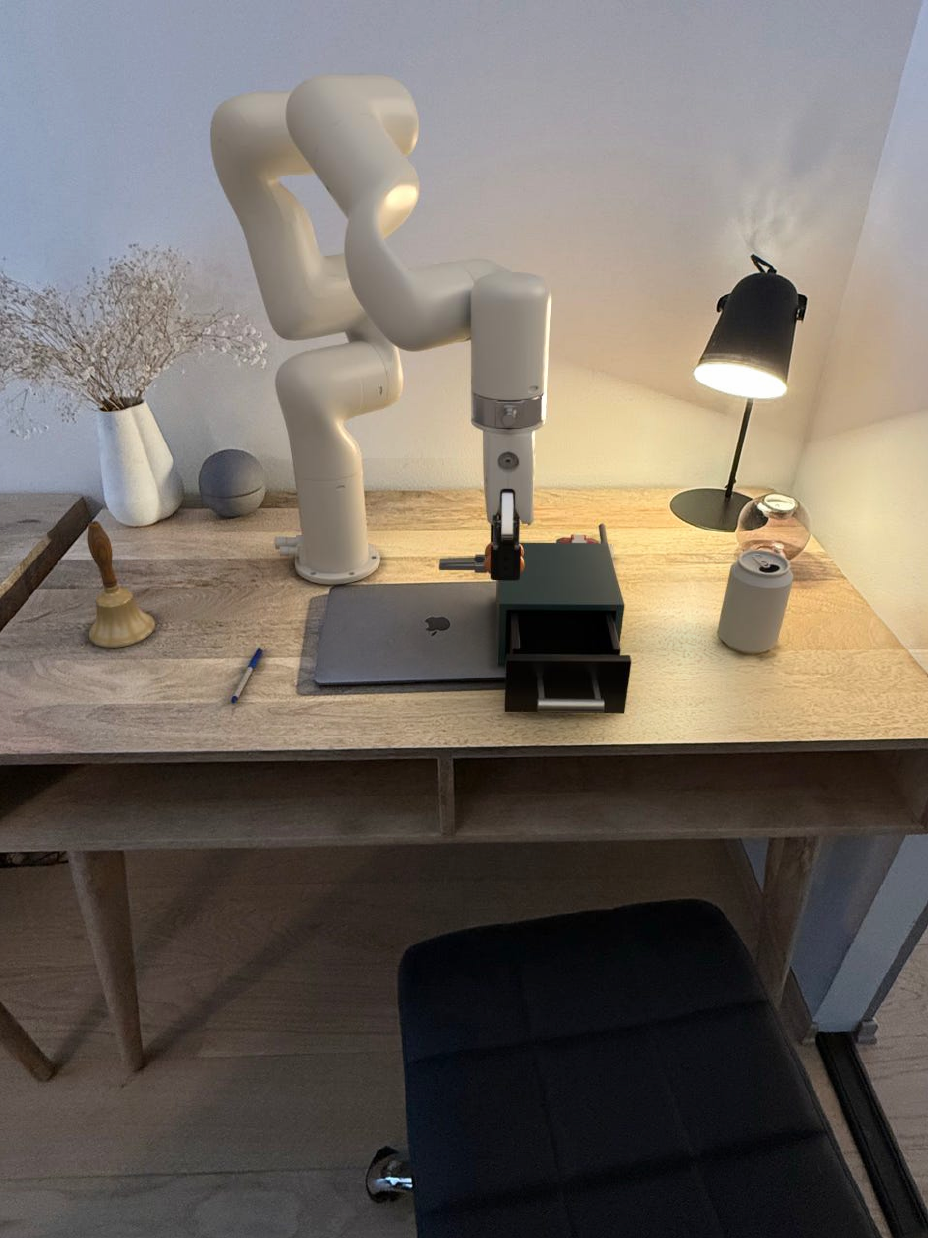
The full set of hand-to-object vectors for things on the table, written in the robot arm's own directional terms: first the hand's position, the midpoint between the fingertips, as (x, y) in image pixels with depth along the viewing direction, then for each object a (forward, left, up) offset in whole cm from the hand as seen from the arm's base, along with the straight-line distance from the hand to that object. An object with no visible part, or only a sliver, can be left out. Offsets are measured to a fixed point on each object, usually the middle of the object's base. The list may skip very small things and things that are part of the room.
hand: (504, 564), depth 92 cm
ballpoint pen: (-31, -1, -16) cm, 35 cm away
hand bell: (-50, +9, -16) cm, 53 cm away
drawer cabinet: (+7, +10, -16) cm, 20 cm away
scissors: (-2, 0, 0) cm, 2 cm away
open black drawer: (+7, -3, -15) cm, 17 cm away
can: (+32, +8, -16) cm, 37 cm away
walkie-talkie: (+13, +28, -16) cm, 35 cm away
